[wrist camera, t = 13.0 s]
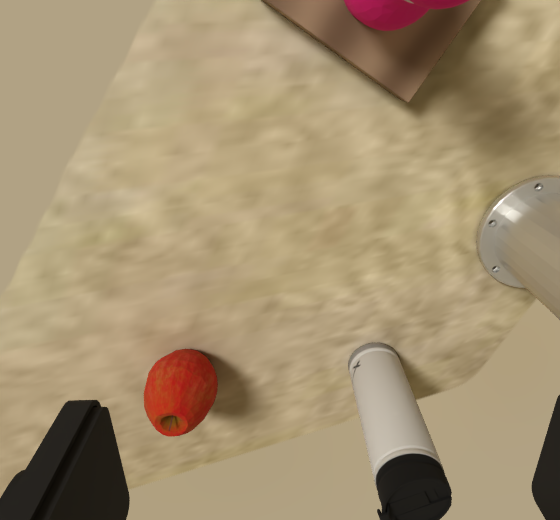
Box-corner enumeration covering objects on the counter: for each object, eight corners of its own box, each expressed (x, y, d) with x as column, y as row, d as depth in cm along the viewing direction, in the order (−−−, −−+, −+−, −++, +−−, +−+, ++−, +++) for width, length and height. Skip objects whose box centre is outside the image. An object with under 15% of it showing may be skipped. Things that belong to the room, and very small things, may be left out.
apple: (147, 340, 54) (119, 402, 45) (215, 333, 54) (201, 394, 44) (162, 393, 58) (140, 462, 48) (226, 386, 57) (216, 455, 48)
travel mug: (337, 353, 55) (368, 500, 37) (388, 334, 54) (445, 476, 36) (355, 389, 58) (392, 544, 40) (404, 372, 57) (466, 523, 39)
